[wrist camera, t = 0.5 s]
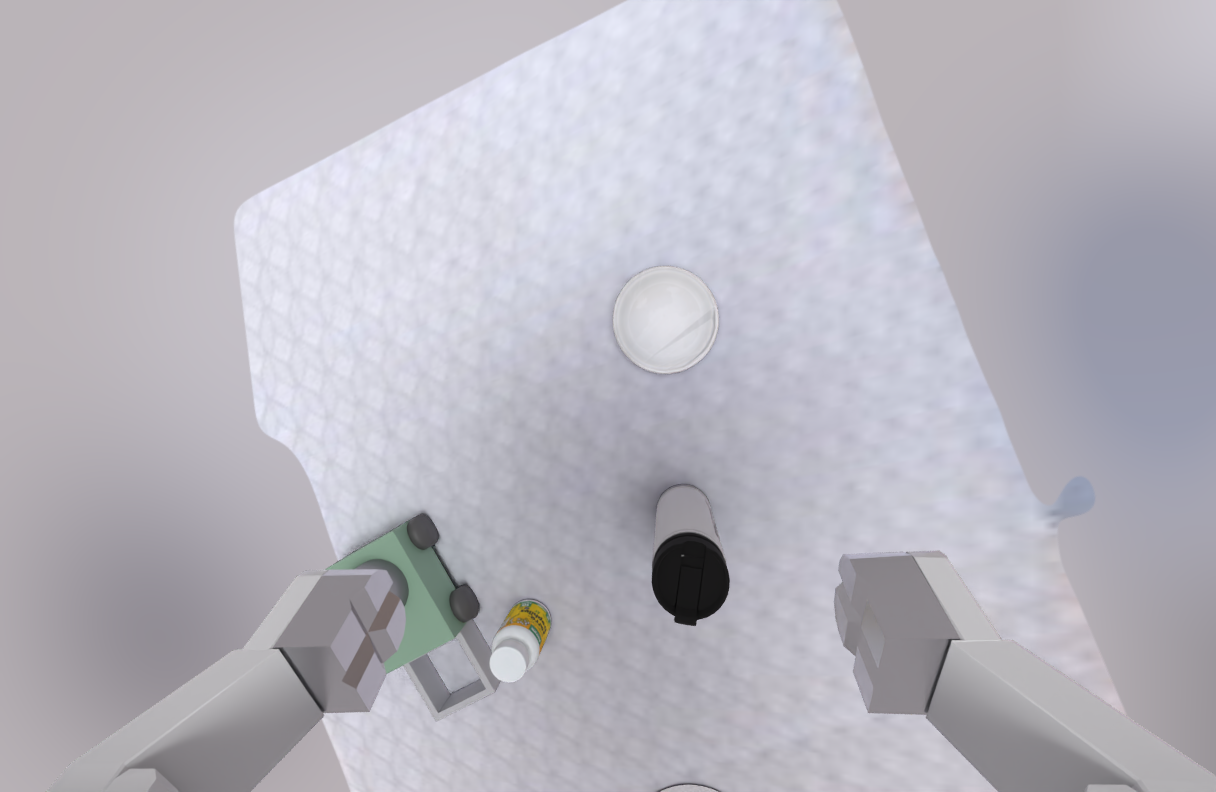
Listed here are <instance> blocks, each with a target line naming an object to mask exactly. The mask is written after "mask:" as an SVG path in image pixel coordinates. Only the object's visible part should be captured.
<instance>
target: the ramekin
mask: <svg viewBox="0 0 1216 792" xmlns="http://www.w3.org/2000/svg"><path fill="white" fill-rule="evenodd" d="M718 327H719V313H718V307H717V304H716V301H715V298H714V296H713V294H712V292H711V291H710V289H709V288H708V286H707V285H706V284H705V283H704V282H703V281H702V280H701V279H700V278H699V277H697V276H696V275H694V274H693V273H691V272H689V271H687V270H685V269H682V268H678V267H673V266H657V267H652V268H649V269H646V270H644V271H642V272H640V273H638V274H637V275H635V276H634V277H633V278H631V279H630V280H629V281H628V282H627V283H626V285H625V286H624V287H623V288H622V290H621V292H620V293H619V295H618V297H617V300H616V302H615V306H614V311H613V329H614V334H615V337H616V340H617V343H618V345H619V346H620V348H621V350H622V351H623V353H624V354H625V355H626V356H627V357H628V358H629V359H630V360H631V361H632V362H633V363H634V364H635V365H637V366H638V367H640V368H642V369H644V370H647V371H649V372H653V373H658V374H673V373H678V372H682V371H685V370H687V369H689V368H691V367H693V366H694V365H696V364H697V363H698V362H700V361H701V360H702V359H703V358H704V357H705V356H706V355H707V353H708V352H709V351H710V349H711V347H712V346H713V344H714V342H715V339H716V336H717V333H718Z"/></svg>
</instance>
